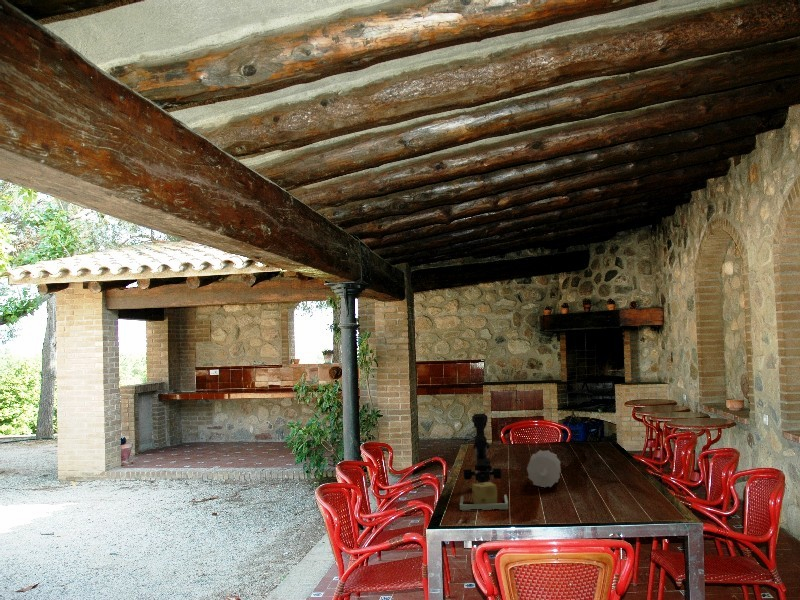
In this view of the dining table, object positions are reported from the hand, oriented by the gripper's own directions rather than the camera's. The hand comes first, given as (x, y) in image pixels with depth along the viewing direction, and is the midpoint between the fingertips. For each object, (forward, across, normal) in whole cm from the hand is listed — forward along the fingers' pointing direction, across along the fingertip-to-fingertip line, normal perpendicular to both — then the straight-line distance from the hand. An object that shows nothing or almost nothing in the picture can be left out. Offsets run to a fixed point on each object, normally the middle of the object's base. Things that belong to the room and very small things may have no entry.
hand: (483, 488), depth 346 cm
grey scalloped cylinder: (-20, +33, +30) cm, 48 cm away
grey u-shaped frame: (+10, 0, -2) cm, 10 cm away
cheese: (+10, 0, -1) cm, 10 cm away
